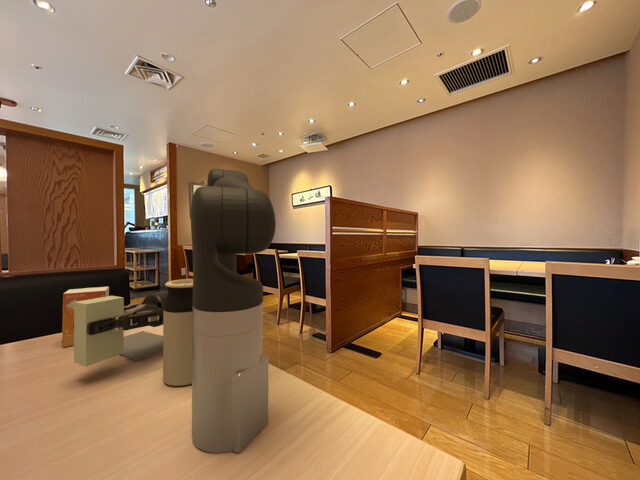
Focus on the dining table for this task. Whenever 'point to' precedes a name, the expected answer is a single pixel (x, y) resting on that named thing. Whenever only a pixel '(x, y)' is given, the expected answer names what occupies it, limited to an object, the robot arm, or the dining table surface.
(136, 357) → the rubber mat
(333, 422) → the dining table surface
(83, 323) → the tall tan pillar block
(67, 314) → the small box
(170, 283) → the travel mug
